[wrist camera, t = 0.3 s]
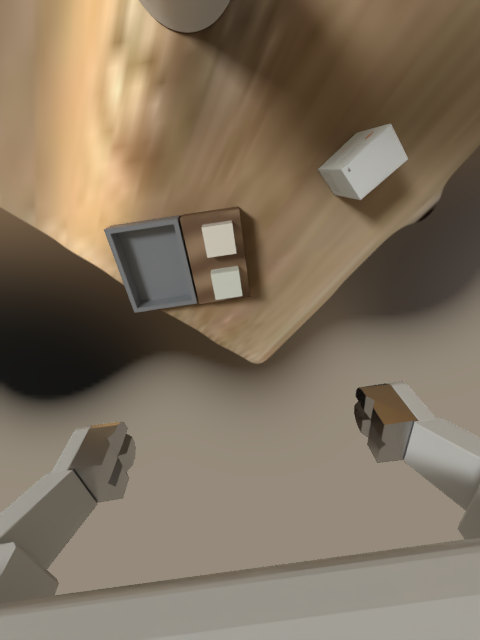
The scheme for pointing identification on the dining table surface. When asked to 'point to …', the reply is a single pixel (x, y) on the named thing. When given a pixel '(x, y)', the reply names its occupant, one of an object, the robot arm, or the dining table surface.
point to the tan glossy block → (204, 265)
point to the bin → (153, 263)
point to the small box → (363, 162)
